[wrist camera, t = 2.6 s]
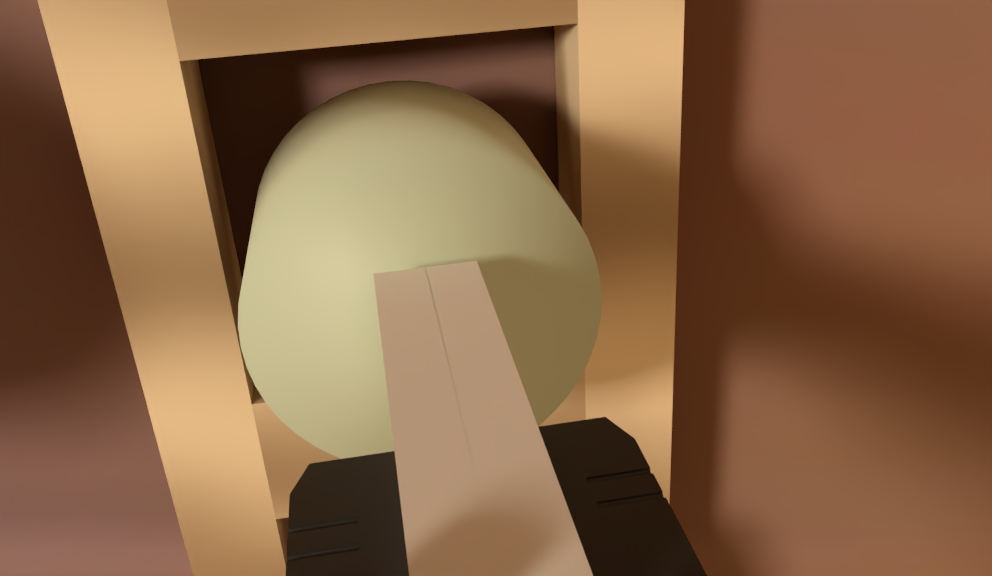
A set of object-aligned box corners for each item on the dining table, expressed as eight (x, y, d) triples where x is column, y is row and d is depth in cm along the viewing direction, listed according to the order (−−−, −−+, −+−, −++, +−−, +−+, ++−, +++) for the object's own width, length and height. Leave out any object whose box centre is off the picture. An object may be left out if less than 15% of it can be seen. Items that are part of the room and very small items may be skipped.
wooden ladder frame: (-140, -830, 12) (-218, -942, 10) (660, -813, 14) (712, -911, 12) (256, 724, 26) (251, 790, 24) (640, 654, 27) (663, 711, 25)
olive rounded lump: (228, 97, 16) (203, 169, 13) (541, 66, 17) (599, 126, 13) (280, 370, 19) (271, 494, 15) (551, 333, 19) (603, 443, 16)
